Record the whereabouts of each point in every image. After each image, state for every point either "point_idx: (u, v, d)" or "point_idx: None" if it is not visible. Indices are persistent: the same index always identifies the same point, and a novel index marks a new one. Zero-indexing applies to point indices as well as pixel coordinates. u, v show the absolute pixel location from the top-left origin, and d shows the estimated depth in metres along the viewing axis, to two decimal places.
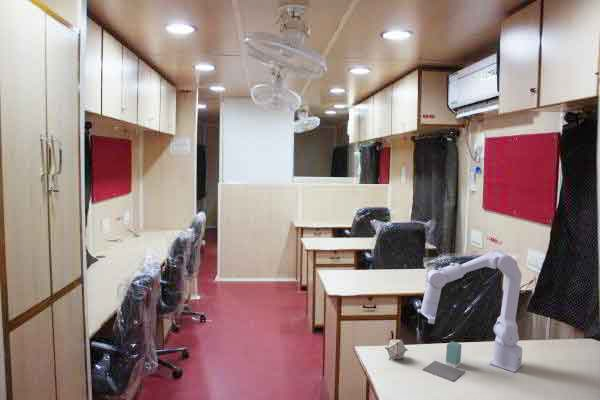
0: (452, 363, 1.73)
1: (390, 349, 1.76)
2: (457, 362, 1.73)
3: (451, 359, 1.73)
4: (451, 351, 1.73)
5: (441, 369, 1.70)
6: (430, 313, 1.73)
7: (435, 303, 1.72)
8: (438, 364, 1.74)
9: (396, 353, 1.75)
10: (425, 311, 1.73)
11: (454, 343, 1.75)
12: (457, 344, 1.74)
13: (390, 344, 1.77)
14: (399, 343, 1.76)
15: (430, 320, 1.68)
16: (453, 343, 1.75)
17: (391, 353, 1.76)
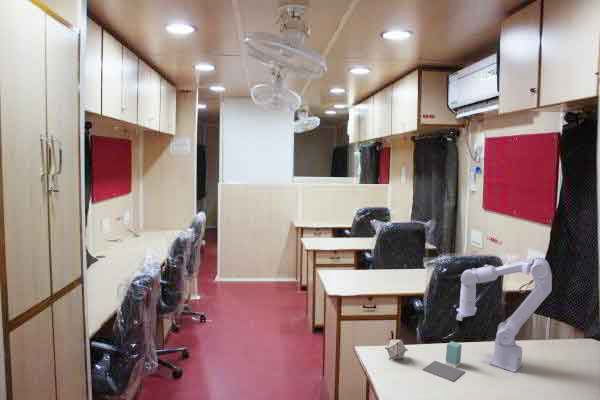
0: (452, 363, 1.73)
1: (390, 349, 1.76)
2: (457, 362, 1.73)
3: (451, 359, 1.73)
4: (451, 351, 1.73)
5: (441, 369, 1.70)
6: (464, 311, 1.78)
7: (467, 302, 1.77)
8: (438, 364, 1.74)
9: (396, 353, 1.75)
10: (460, 309, 1.80)
11: (454, 343, 1.75)
12: (457, 344, 1.74)
13: (390, 344, 1.77)
14: (399, 343, 1.76)
15: (457, 317, 1.76)
16: (453, 343, 1.75)
17: (391, 353, 1.76)
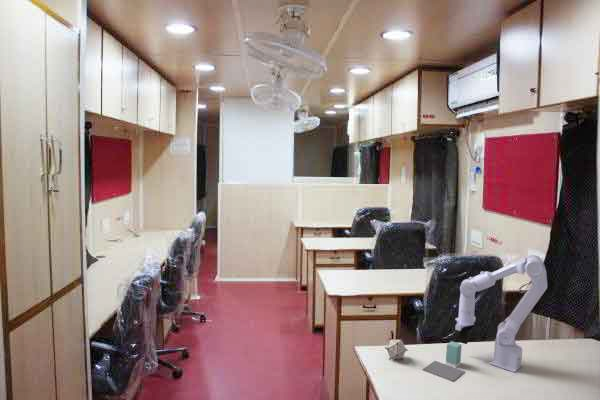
0: (452, 363, 1.73)
1: (390, 349, 1.76)
2: (457, 362, 1.73)
3: (451, 359, 1.73)
4: (451, 351, 1.73)
5: (441, 369, 1.70)
6: (463, 321, 1.78)
7: (466, 311, 1.77)
8: (438, 364, 1.74)
9: (396, 353, 1.75)
10: (459, 319, 1.80)
11: (454, 343, 1.75)
12: (457, 344, 1.74)
13: (390, 344, 1.77)
14: (399, 343, 1.76)
15: (456, 327, 1.76)
16: (453, 343, 1.75)
17: (391, 353, 1.76)
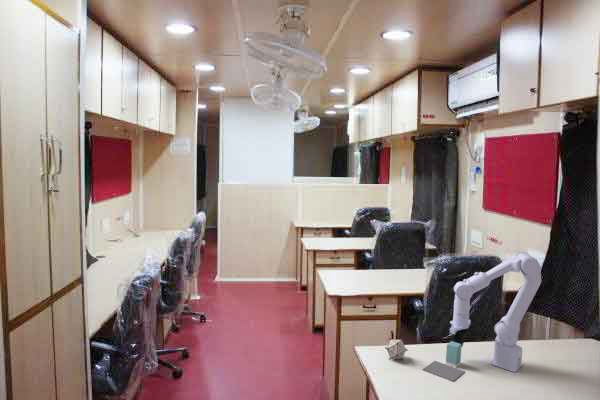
0: (452, 363, 1.73)
1: (390, 349, 1.76)
2: (457, 362, 1.73)
3: (451, 359, 1.73)
4: (451, 351, 1.73)
5: (441, 369, 1.70)
6: (457, 324, 1.75)
7: (461, 315, 1.74)
8: (438, 364, 1.74)
9: (396, 353, 1.75)
10: (453, 322, 1.76)
11: (454, 343, 1.75)
12: (457, 344, 1.74)
13: (390, 344, 1.77)
14: (399, 343, 1.76)
15: (450, 330, 1.72)
16: (453, 343, 1.75)
17: (391, 353, 1.76)
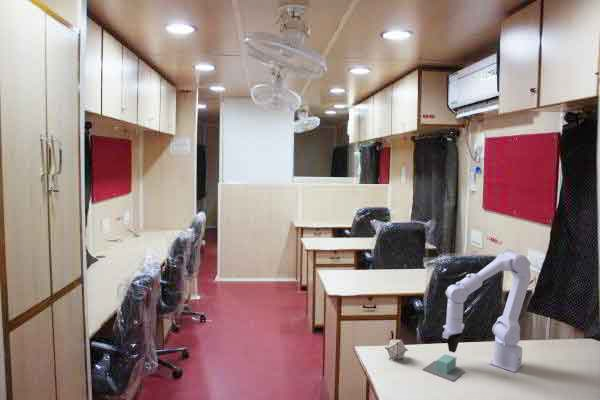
0: None
1: (390, 349, 1.76)
2: (454, 364, 1.71)
3: None
4: None
5: None
6: (450, 329, 1.70)
7: (454, 319, 1.69)
8: None
9: (396, 353, 1.75)
10: (446, 326, 1.72)
11: (441, 364, 1.68)
12: (444, 366, 1.67)
13: (390, 344, 1.77)
14: (399, 343, 1.76)
15: (443, 335, 1.68)
16: (440, 366, 1.68)
17: (391, 353, 1.76)
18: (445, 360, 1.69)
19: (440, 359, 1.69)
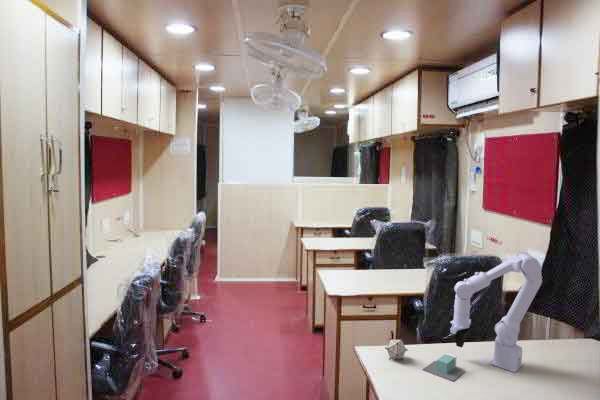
0: None
1: (390, 349, 1.76)
2: (454, 364, 1.71)
3: None
4: None
5: None
6: (458, 324, 1.75)
7: (462, 314, 1.74)
8: None
9: (396, 353, 1.75)
10: (454, 322, 1.77)
11: (441, 364, 1.68)
12: (444, 366, 1.67)
13: (390, 344, 1.77)
14: (399, 343, 1.76)
15: (451, 330, 1.72)
16: (440, 366, 1.68)
17: (391, 353, 1.76)
18: (445, 360, 1.69)
19: (440, 359, 1.69)
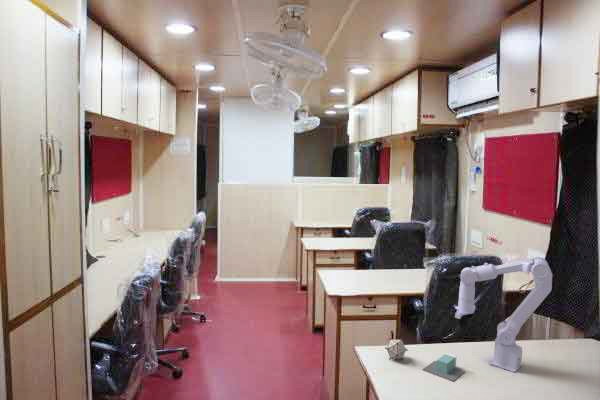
0: None
1: (390, 349, 1.76)
2: (454, 364, 1.71)
3: None
4: None
5: None
6: (463, 309, 1.77)
7: (466, 300, 1.76)
8: None
9: (396, 353, 1.75)
10: (459, 307, 1.79)
11: (441, 364, 1.68)
12: (444, 366, 1.67)
13: (390, 344, 1.77)
14: (399, 343, 1.76)
15: (456, 315, 1.75)
16: (440, 366, 1.68)
17: (391, 353, 1.76)
18: (445, 360, 1.69)
19: (440, 359, 1.69)
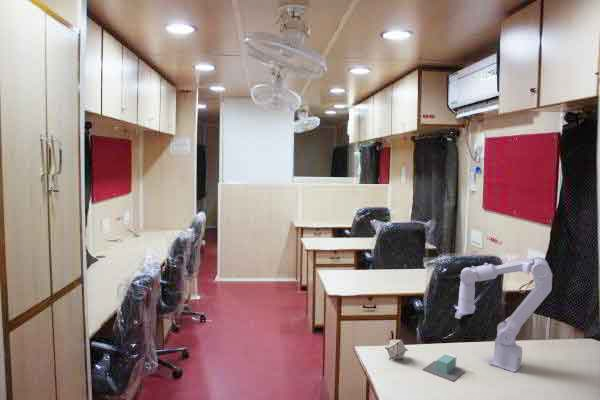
0: None
1: (390, 349, 1.76)
2: (454, 364, 1.71)
3: None
4: None
5: None
6: (463, 309, 1.77)
7: (466, 300, 1.76)
8: None
9: (396, 353, 1.75)
10: (459, 307, 1.79)
11: (441, 364, 1.68)
12: (444, 366, 1.67)
13: (390, 344, 1.77)
14: (399, 343, 1.76)
15: (456, 315, 1.75)
16: (440, 366, 1.68)
17: (391, 353, 1.76)
18: (445, 360, 1.69)
19: (440, 359, 1.69)
